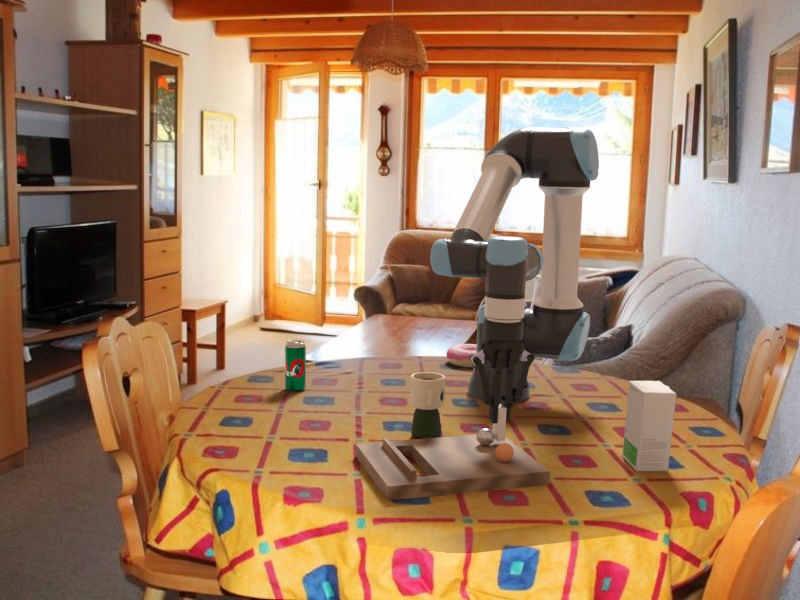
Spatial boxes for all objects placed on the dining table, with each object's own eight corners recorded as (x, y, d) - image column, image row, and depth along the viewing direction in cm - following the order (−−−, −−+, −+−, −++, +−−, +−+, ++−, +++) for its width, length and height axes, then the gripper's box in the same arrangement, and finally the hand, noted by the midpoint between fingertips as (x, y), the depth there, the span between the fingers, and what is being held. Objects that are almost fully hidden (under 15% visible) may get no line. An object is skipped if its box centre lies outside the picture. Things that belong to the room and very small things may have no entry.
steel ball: (489, 441, 163) (490, 425, 163) (496, 447, 160) (497, 430, 160) (473, 443, 162) (474, 426, 162) (480, 449, 159) (480, 431, 159)
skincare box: (621, 456, 164) (626, 379, 162) (654, 456, 165) (660, 379, 162) (637, 472, 156) (642, 391, 153) (671, 472, 156) (677, 391, 154)
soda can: (309, 388, 208) (310, 341, 206) (296, 393, 204) (296, 345, 202) (294, 385, 211) (294, 338, 209) (280, 389, 206) (280, 342, 204)
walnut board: (499, 444, 170) (500, 425, 169) (549, 484, 149) (550, 463, 148) (355, 456, 161) (356, 436, 160) (387, 500, 140) (388, 477, 139)
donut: (443, 368, 233) (444, 350, 232) (449, 357, 246) (449, 341, 245) (492, 371, 231) (492, 353, 230) (495, 360, 244) (495, 343, 243)
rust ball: (508, 457, 155) (509, 439, 154) (516, 463, 152) (517, 445, 151) (491, 459, 154) (492, 441, 153) (499, 465, 151) (500, 447, 150)
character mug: (447, 445, 168) (449, 382, 166) (412, 446, 168) (414, 383, 165) (438, 428, 179) (440, 369, 177) (405, 428, 178) (407, 369, 176)
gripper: (526, 314, 164) (520, 430, 167) (464, 316, 160) (460, 435, 163) (544, 321, 156) (537, 442, 160) (479, 323, 153) (474, 447, 156)
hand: (498, 438), depth 162 cm, fingers closed
